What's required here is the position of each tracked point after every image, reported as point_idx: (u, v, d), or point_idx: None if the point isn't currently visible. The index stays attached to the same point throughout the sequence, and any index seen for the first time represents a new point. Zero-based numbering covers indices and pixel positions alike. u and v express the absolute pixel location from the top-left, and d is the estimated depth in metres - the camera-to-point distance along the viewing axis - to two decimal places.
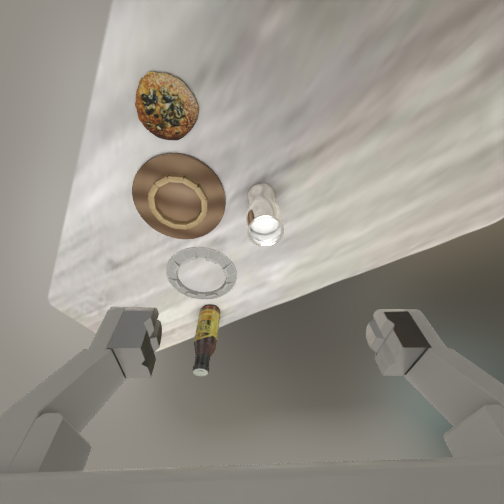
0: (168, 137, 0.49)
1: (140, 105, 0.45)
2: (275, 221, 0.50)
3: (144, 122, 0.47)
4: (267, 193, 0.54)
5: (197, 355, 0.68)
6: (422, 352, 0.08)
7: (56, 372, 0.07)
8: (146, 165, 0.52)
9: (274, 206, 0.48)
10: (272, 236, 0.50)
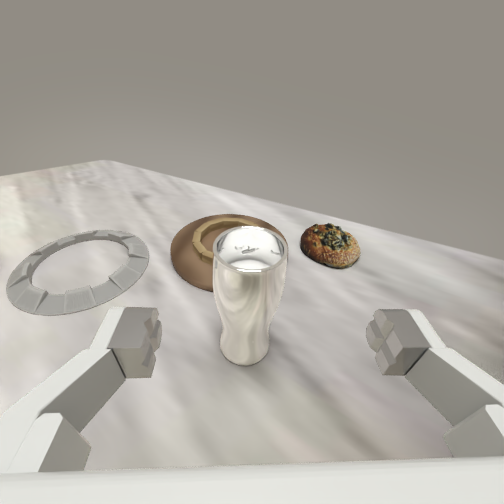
0: (306, 239, 0.46)
1: None
2: None
3: None
4: (268, 327, 0.29)
5: None
6: (422, 352, 0.08)
7: (56, 372, 0.07)
8: (270, 225, 0.50)
9: (282, 291, 0.24)
10: None
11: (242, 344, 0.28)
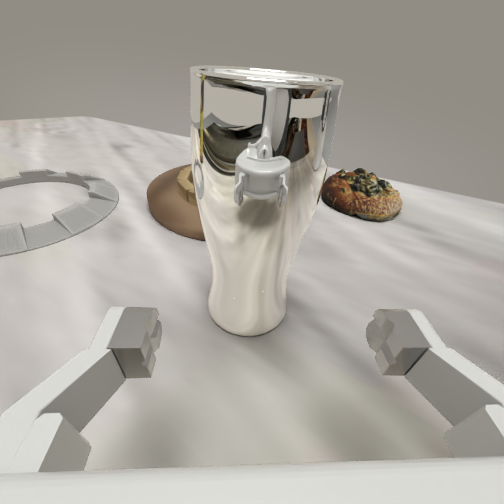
0: (330, 186, 0.35)
1: None
2: None
3: None
4: (288, 271, 0.17)
5: None
6: (422, 352, 0.08)
7: (56, 372, 0.07)
8: None
9: (324, 179, 0.13)
10: None
11: (244, 295, 0.16)
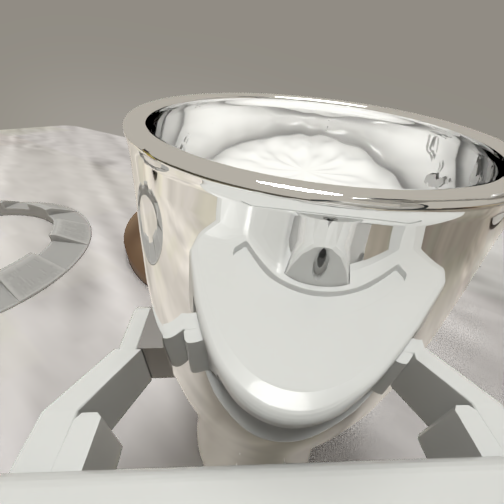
0: None
1: None
2: None
3: None
4: None
5: None
6: None
7: (89, 372, 0.07)
8: None
9: None
10: None
11: None
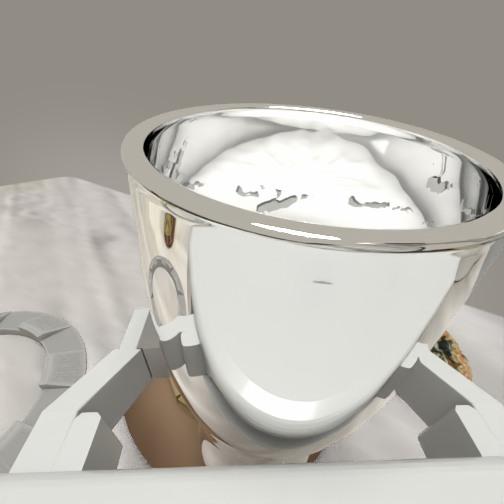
0: None
1: None
2: None
3: None
4: None
5: None
6: None
7: (90, 372, 0.07)
8: None
9: None
10: None
11: None
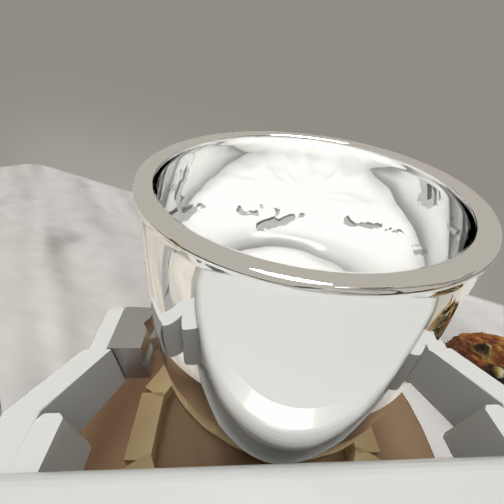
0: None
1: (502, 337, 0.19)
2: None
3: (469, 341, 0.19)
4: None
5: None
6: None
7: (56, 372, 0.07)
8: None
9: None
10: None
11: None
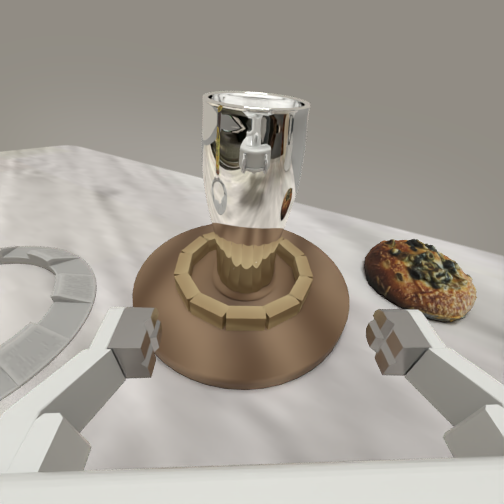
0: (380, 266, 0.27)
1: (407, 240, 0.30)
2: None
3: None
4: None
5: None
6: (422, 352, 0.08)
7: (56, 372, 0.07)
8: (307, 242, 0.30)
9: (299, 174, 0.17)
10: None
11: (241, 265, 0.21)
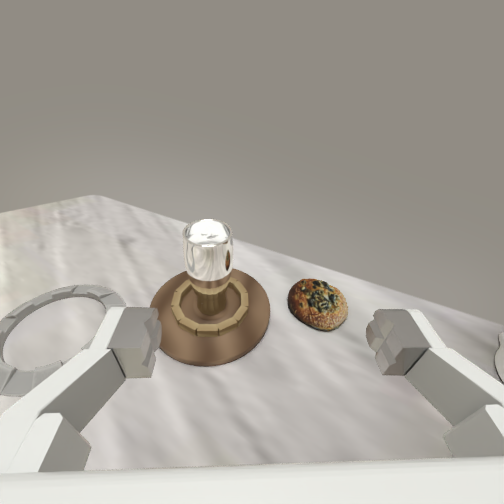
0: (293, 297, 0.46)
1: (316, 279, 0.49)
2: None
3: (302, 281, 0.49)
4: (226, 292, 0.41)
5: None
6: (422, 352, 0.08)
7: (56, 372, 0.07)
8: (254, 280, 0.49)
9: (230, 262, 0.36)
10: None
11: (206, 302, 0.39)
